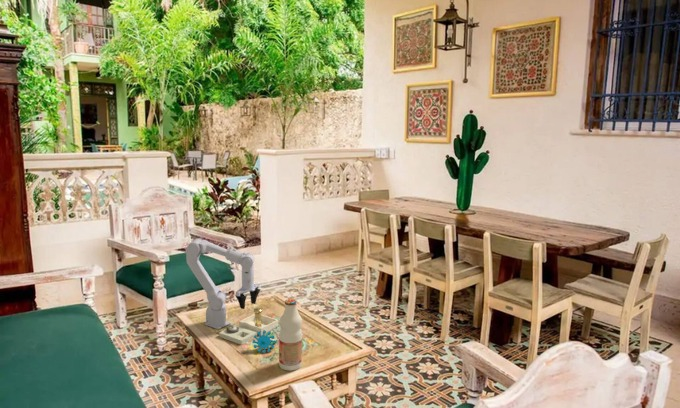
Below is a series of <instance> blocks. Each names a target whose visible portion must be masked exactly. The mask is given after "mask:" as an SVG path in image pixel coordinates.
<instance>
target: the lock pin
mask: <svg viewBox="0 0 680 408" xmlns="http://www.w3.org/2000/svg"><path fill="white" fill-rule="evenodd" d="M253 312H254V314H255V326H257V327H260V328H261V315H262V312H263V308H261V307H256V308H253Z"/></svg>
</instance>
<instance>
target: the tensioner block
mask: <svg viewBox="0 0 680 408" xmlns="http://www.w3.org/2000/svg"><path fill="white" fill-rule="evenodd" d="M218 334H219V336H218V337H219V338H222V339H225V340H226V341H227V340H228V341H230V342H233V343H235V344H238V345H241V346H243V345H244V344H246V343H248V342H250V341H253V340H254V339H255V338H254V336H255V335H257V336H258V334H257V332H254V331H251V330H248V329H245V328H242V327H239V325H236V324H235V325H232V326H231V325H230V326H228V327H226V329H224V330H222V331H220V332H218Z"/></svg>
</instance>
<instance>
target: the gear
mask: <svg viewBox="0 0 680 408" xmlns="http://www.w3.org/2000/svg"><path fill="white" fill-rule="evenodd" d="M265 333H266V331H264V330H263V335H262V336H261V335H260V334H261V332H258V334H257V335H255V336H254V338H253V339H252V344H253V349H257V350H256V351H257V353H260V352H261V350H262V349H263V350H262V352H261V353H262V354H266V352H267V353H270V352H271V349H272V350H273V349H274V348H275V345H276V344H278V343H279V339H275V336H274V335H271V334H272V333H271V331H269V332H267V333H266V334H265ZM270 347H271V348H270ZM266 349H267V351H266Z"/></svg>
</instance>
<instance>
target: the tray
mask: <svg viewBox="0 0 680 408" xmlns="http://www.w3.org/2000/svg"><path fill="white" fill-rule="evenodd" d="M238 326H239V327H242V328H245V329H248V330H251V331H254V332H257V335H258V332H261V334H260V336H262V335H263V330H264V331H266V333H265V334H264V335H267V334H268V332H271V331H273V330H274V329H277V328H278V327H279V319H276V318H274V317H270V316H267V315H264V314H261V328H260V327H257V326H255V313H253V314H252V315H250V316H248V317H245V318H243V319H241V320H239V321H238Z"/></svg>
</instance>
